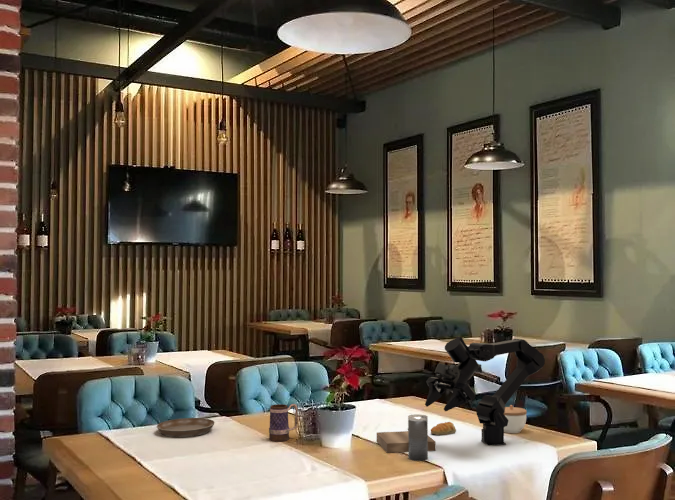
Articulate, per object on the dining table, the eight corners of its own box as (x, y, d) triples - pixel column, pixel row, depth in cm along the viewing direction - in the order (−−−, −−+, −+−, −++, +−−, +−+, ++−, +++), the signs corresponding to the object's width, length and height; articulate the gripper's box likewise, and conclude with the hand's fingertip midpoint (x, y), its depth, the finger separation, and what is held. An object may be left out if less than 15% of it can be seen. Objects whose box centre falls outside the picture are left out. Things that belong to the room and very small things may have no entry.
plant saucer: (156, 440, 256) (156, 431, 256) (156, 428, 276) (156, 419, 276) (216, 437, 261) (216, 427, 261) (212, 425, 281) (212, 416, 281)
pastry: (439, 437, 258) (439, 426, 259) (425, 434, 264) (425, 423, 264) (457, 433, 264) (457, 422, 265) (443, 430, 270) (443, 420, 270)
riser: (422, 439, 255) (421, 430, 255) (435, 450, 239) (435, 441, 239) (376, 441, 252) (376, 432, 252) (387, 453, 237) (387, 443, 237)
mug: (270, 442, 252) (270, 407, 252) (267, 437, 259) (267, 403, 259) (300, 440, 254) (299, 405, 254) (296, 436, 261) (296, 401, 261)
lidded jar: (530, 430, 268) (530, 404, 268) (521, 436, 259) (520, 409, 259) (502, 426, 274) (502, 401, 274) (491, 432, 265) (491, 406, 265)
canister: (424, 455, 233) (424, 414, 234) (430, 460, 228) (429, 417, 228) (406, 456, 232) (406, 414, 233) (411, 461, 227) (410, 418, 227)
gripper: (431, 352, 247) (403, 386, 241) (470, 358, 232) (441, 394, 225) (448, 375, 251) (421, 409, 245) (487, 383, 235) (459, 419, 229)
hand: (435, 408), depth 236 cm, fingers open, 9 cm apart
